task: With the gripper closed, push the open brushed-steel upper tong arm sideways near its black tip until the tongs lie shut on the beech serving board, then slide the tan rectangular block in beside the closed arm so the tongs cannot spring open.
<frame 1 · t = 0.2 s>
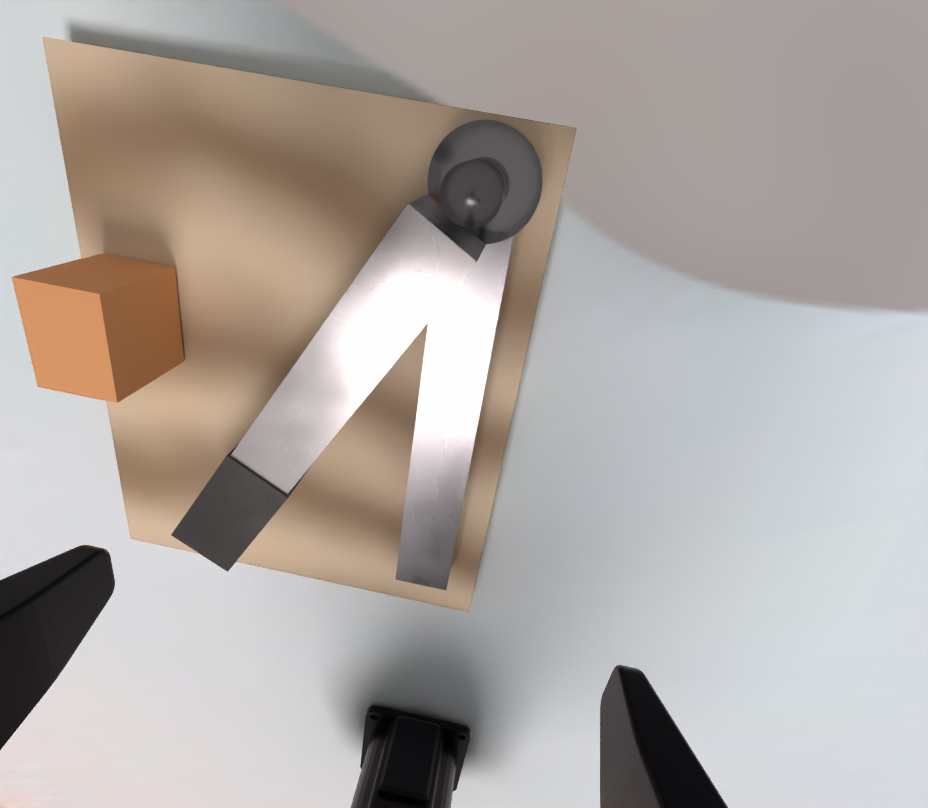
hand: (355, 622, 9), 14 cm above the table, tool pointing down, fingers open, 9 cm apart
tan rectangular block: (109, 324, 20), point 3 cm above the table, slide at 0.0 cm
tongs upper: (314, 405, 19), point 4 cm above the table, hinge at 30.0°
tongs lower: (488, 181, 18), resting on serving board
serving board: (310, 372, 24), on the table
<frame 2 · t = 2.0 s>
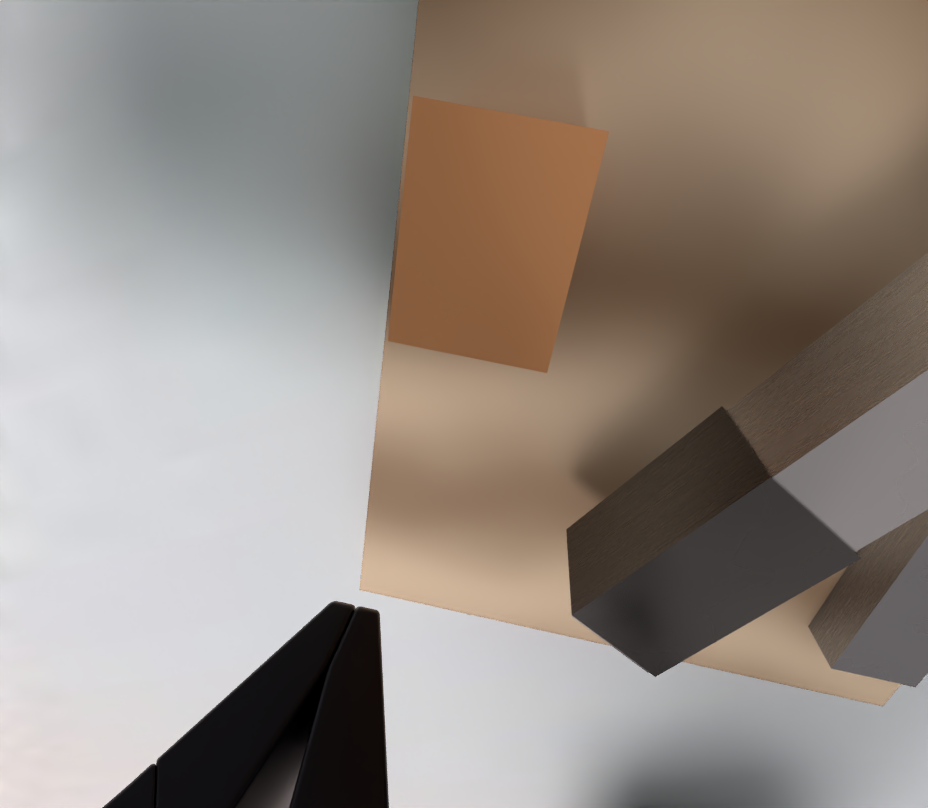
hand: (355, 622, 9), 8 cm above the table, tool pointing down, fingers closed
tan rectangular block: (495, 229, 11), point 3 cm above the table, slide at 0.0 cm
tongs upper: (922, 380, 10), point 4 cm above the table, hinge at 30.0°
serving board: (729, 333, 14), on the table
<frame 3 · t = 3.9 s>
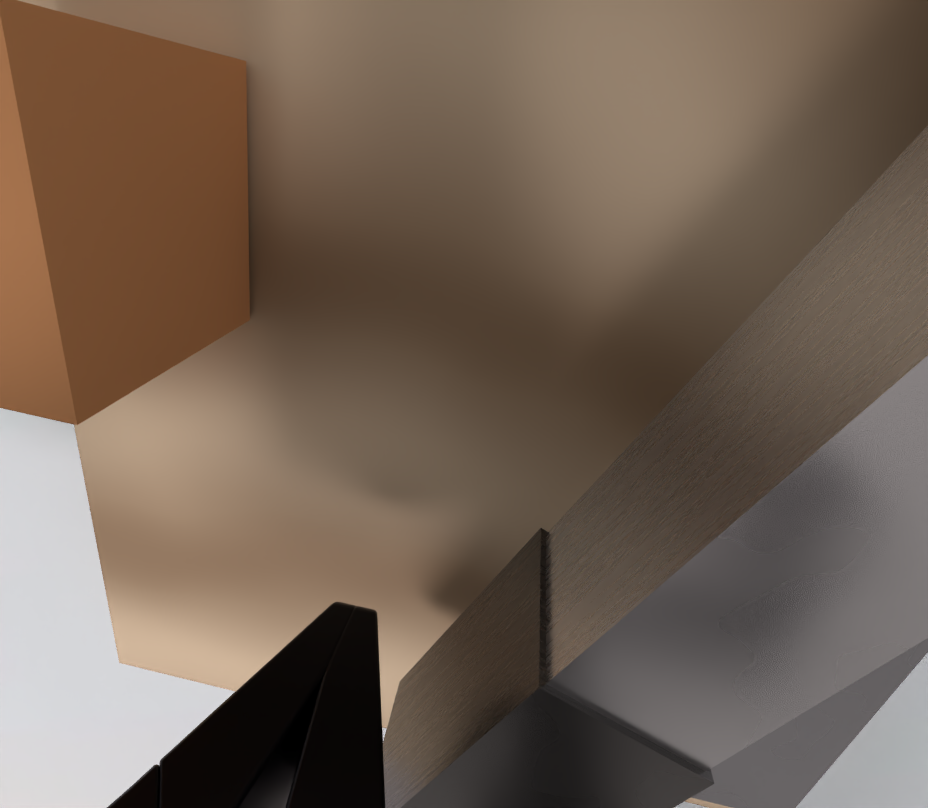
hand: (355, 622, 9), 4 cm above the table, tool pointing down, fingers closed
tan rectangular block: (63, 197, 7), point 3 cm above the table, slide at 0.0 cm
tongs upper: (770, 505, 6), point 4 cm above the table, hinge at 21.6°, touching gripper
serving board: (524, 352, 11), on the table
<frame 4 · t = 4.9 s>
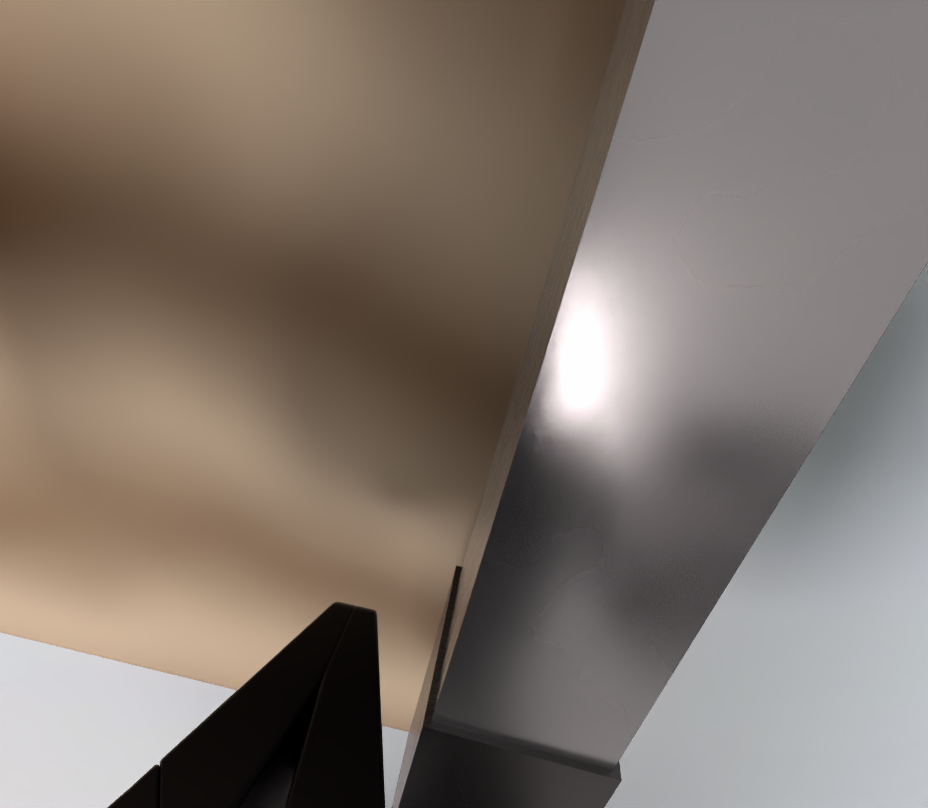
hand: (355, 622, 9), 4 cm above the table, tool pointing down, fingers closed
tongs upper: (585, 506, 7), point 4 cm above the table, hinge at 2.6°, touching gripper
serving board: (277, 297, 11), on the table
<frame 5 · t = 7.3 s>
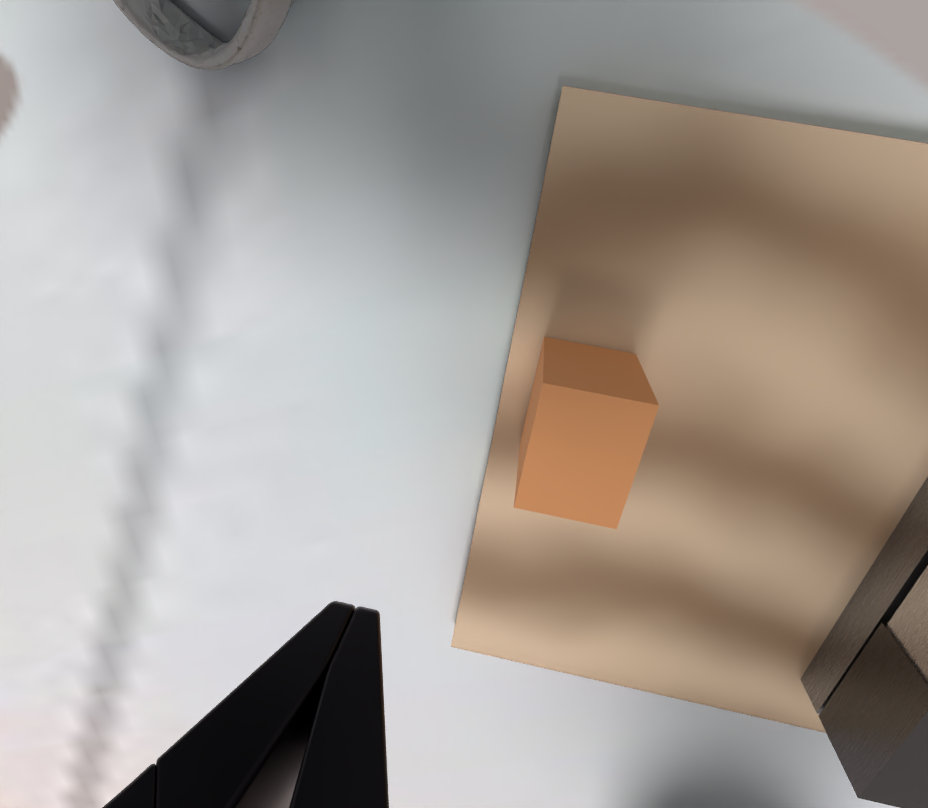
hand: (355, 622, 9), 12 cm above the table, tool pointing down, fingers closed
tan rectangular block: (578, 426, 16), point 3 cm above the table, slide at 0.0 cm
serving board: (734, 468, 20), on the table
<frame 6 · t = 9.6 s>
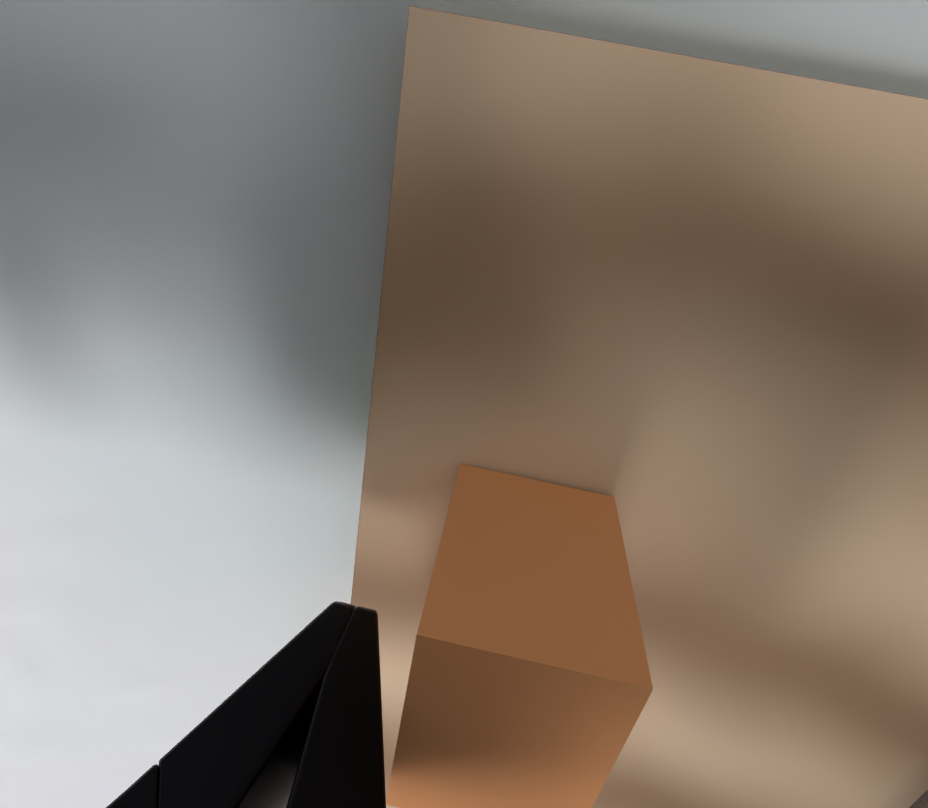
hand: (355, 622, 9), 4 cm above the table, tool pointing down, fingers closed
tan rectangular block: (509, 637, 9), point 3 cm above the table, slide at 0.9 cm, touching gripper
serving board: (727, 632, 13), on the table
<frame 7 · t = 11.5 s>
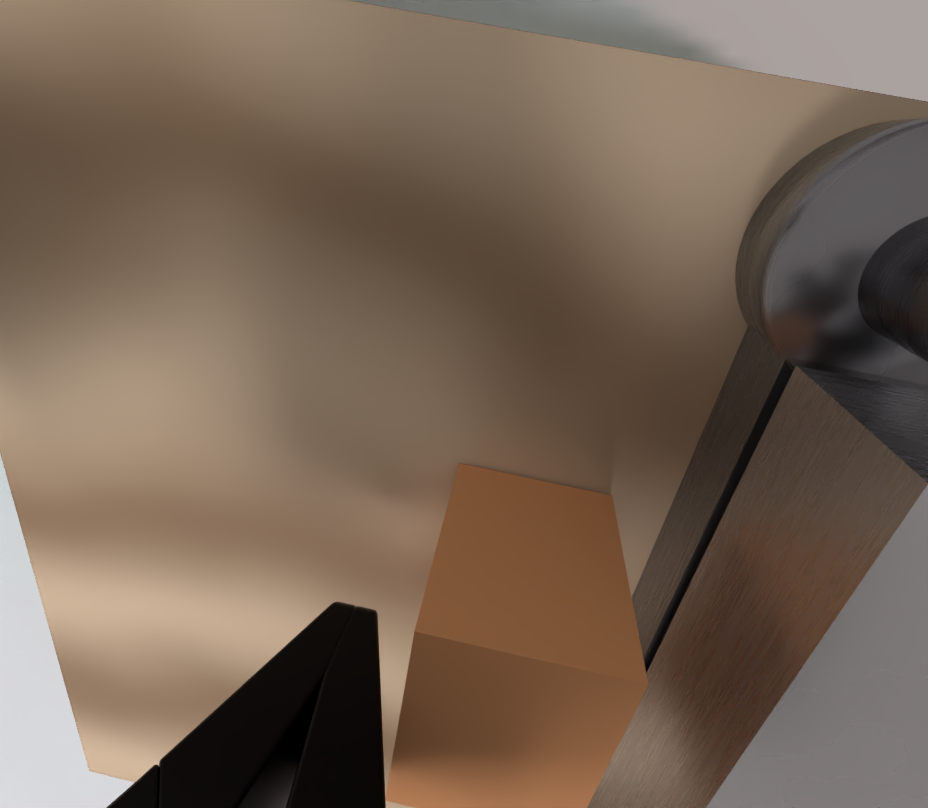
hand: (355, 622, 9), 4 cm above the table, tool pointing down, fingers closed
tan rectangular block: (508, 635, 9), point 3 cm above the table, slide at 9.1 cm, touching gripper
tongs lower: (865, 256, 8), resting on serving board
serving board: (396, 557, 13), on the table
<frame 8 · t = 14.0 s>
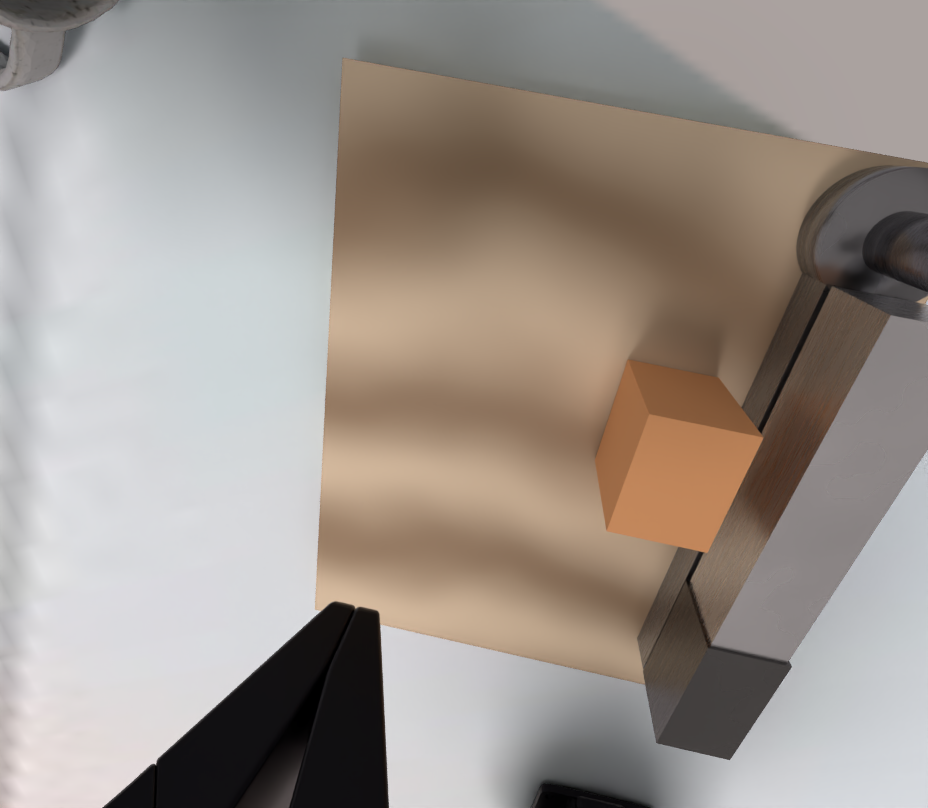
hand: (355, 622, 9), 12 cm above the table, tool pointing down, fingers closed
tan rectangular block: (665, 450, 17), point 3 cm above the table, slide at 9.2 cm
tongs upper: (771, 555, 17), point 4 cm above the table, hinge at -0.1°
tongs lower: (865, 234, 15), resting on serving board
serving board: (561, 435, 21), on the table
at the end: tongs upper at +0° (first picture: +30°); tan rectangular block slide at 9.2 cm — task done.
